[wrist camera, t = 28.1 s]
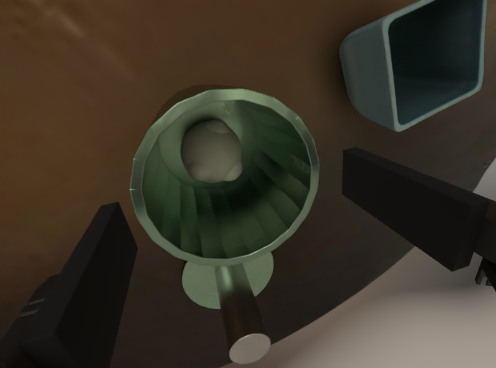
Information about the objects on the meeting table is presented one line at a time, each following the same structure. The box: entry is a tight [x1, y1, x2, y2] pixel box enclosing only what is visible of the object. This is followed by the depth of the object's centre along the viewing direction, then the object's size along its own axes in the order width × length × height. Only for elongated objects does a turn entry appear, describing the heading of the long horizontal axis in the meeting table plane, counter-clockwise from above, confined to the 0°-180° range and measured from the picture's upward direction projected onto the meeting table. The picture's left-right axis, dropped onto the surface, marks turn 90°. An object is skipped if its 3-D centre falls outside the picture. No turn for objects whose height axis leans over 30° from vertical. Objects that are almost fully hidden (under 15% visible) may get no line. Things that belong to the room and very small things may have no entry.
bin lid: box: [182, 252, 273, 364], centre depth 28 cm, size 12×12×11 cm
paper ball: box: [180, 119, 243, 183], centre depth 23 cm, size 6×6×6 cm
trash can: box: [130, 85, 320, 266], centre depth 20 cm, size 11×11×13 cm
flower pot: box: [339, 0, 487, 132], centre depth 23 cm, size 9×9×9 cm
